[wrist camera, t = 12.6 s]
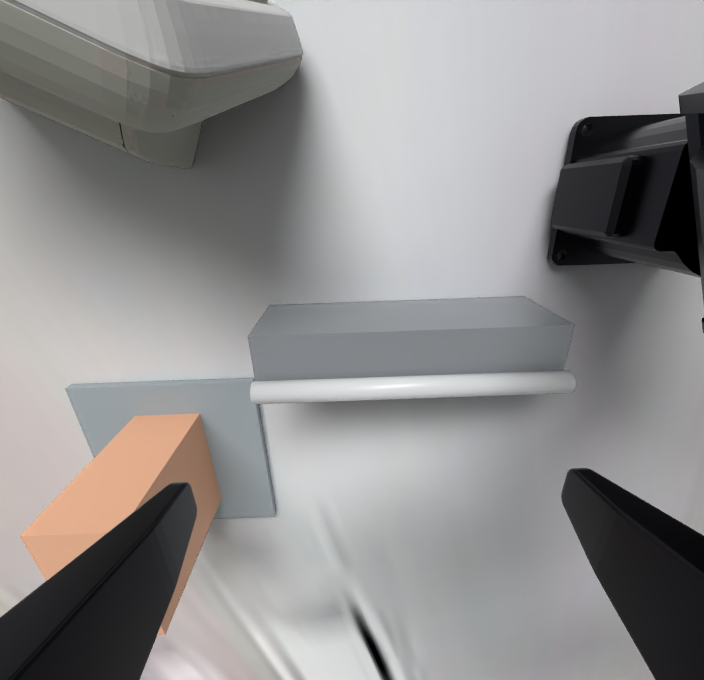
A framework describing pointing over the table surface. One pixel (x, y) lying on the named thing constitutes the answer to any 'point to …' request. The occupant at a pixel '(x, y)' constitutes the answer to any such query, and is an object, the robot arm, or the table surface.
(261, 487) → the mat
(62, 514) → the peach rectangular block
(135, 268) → the table surface
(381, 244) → the table surface
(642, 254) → the robot arm
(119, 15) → the digital clock
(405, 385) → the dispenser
